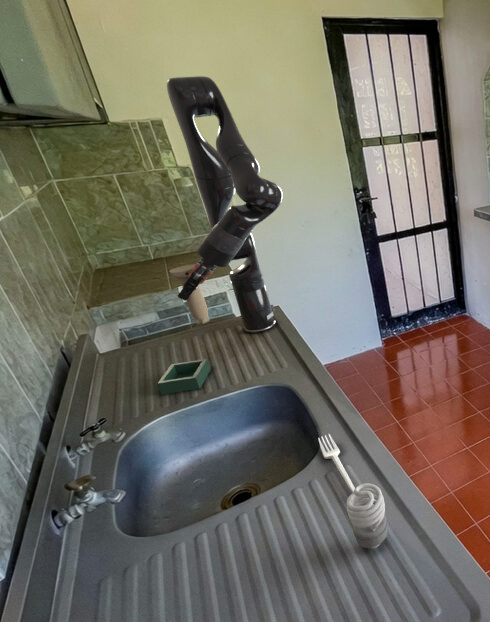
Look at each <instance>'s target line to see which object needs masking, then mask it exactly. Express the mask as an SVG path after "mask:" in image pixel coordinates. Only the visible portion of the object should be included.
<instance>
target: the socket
mask: <svg viewBox="0 0 490 622" xmlns="http://www.w3.org/2000/svg"><path fill="white" fill-rule="evenodd" d="M211 370H212V369H211V365H210V363H209V359H208V358H203V359H197V360H190V361H189V360H188V361H183V362H182V361H181V362H175V363H171V364H170V366H169V367H168V368H167V370H166V371H165V372H164V373H163V375H162V376H161V378H160V379H159V380H158V382H157V383H156V384H157V387H158V389H159V392H160V394H161V395H169V394H176V393H181V392H187V391H194V390H200V389H201V388H202V386H203V384H204V382H205V381H206V379H207V377H208V375H209V374H210V372H211Z"/></svg>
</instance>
